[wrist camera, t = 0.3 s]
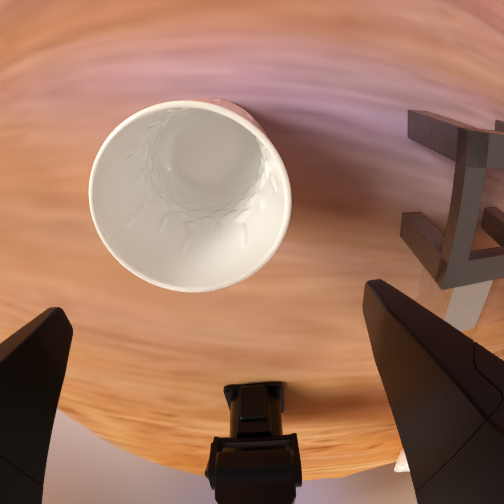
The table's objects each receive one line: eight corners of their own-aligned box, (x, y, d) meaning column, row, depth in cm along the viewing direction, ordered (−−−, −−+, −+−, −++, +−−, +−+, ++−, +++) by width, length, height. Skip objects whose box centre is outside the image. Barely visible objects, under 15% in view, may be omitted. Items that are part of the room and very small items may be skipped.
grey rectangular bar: (419, 377, 34) (432, 407, 30) (389, 384, 34) (400, 416, 30) (465, 243, 24) (495, 274, 20) (428, 247, 24) (456, 281, 20)
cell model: (445, 433, 47) (454, 459, 42) (392, 456, 50) (399, 483, 45) (445, 418, 43) (456, 447, 37) (385, 444, 46) (393, 475, 40)
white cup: (257, 78, 18) (267, 75, 9) (282, 190, 22) (305, 274, 13) (140, 110, 18) (61, 142, 10) (173, 214, 22) (133, 305, 14)
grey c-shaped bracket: (492, 226, 23) (537, 269, 17) (400, 235, 23) (441, 290, 17) (507, 121, 18) (567, 146, 12) (407, 110, 18) (468, 130, 12)
